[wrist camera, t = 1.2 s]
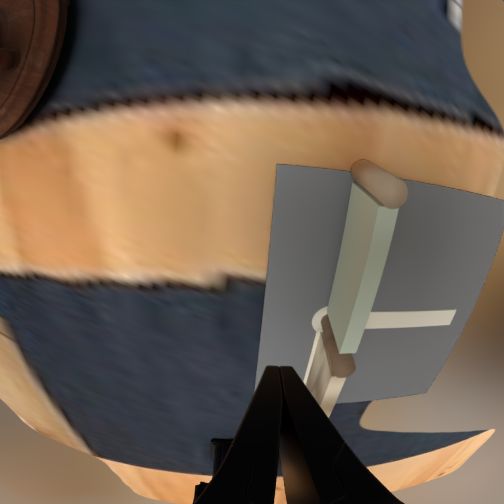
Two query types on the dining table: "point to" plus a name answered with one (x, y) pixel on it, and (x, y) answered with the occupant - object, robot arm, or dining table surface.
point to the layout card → (391, 284)
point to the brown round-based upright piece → (27, 55)
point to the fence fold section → (363, 250)
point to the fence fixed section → (328, 369)
